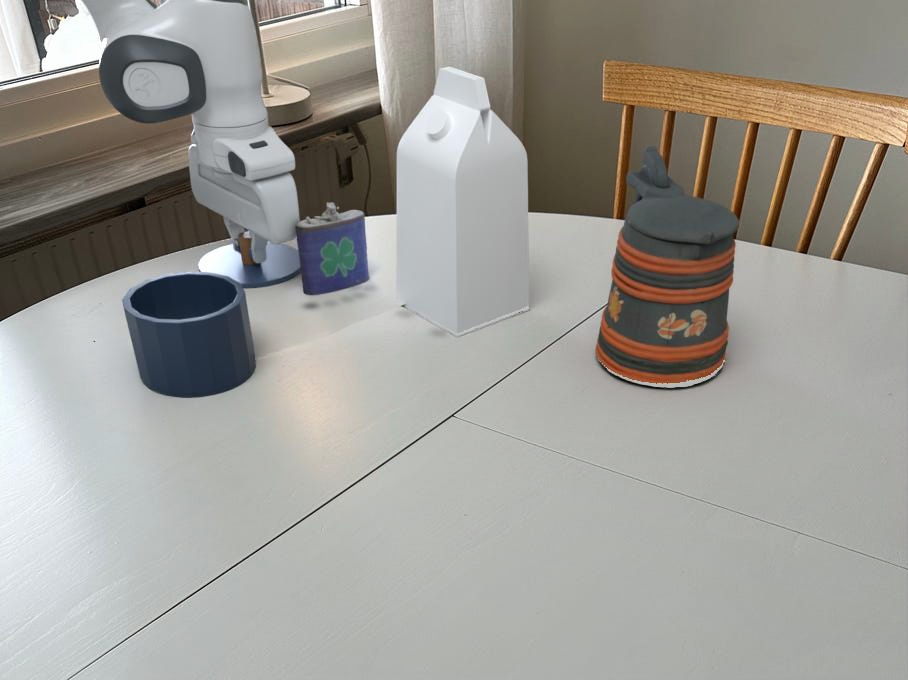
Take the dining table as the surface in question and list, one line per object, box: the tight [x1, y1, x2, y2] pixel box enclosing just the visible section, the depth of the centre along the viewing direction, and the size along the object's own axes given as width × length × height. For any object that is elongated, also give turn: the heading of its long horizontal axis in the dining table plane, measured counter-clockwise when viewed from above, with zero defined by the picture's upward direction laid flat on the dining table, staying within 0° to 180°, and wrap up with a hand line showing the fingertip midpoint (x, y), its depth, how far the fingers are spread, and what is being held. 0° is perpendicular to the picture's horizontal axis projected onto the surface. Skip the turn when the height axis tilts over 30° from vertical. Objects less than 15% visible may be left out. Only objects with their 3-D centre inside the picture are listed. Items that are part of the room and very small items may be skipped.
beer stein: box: [595, 145, 740, 389], centre depth 111 cm, size 19×15×20 cm
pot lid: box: [197, 230, 301, 289], centre depth 131 cm, size 14×14×5 cm
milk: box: [395, 66, 530, 338], centre depth 117 cm, size 12×12×26 cm
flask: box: [295, 201, 370, 296], centre depth 125 cm, size 9×3×11 cm, turn 124°
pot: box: [121, 271, 257, 398], centre depth 110 cm, size 13×13×8 cm
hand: (250, 256), depth 132 cm, fingers closed on pot lid, 2 cm apart
